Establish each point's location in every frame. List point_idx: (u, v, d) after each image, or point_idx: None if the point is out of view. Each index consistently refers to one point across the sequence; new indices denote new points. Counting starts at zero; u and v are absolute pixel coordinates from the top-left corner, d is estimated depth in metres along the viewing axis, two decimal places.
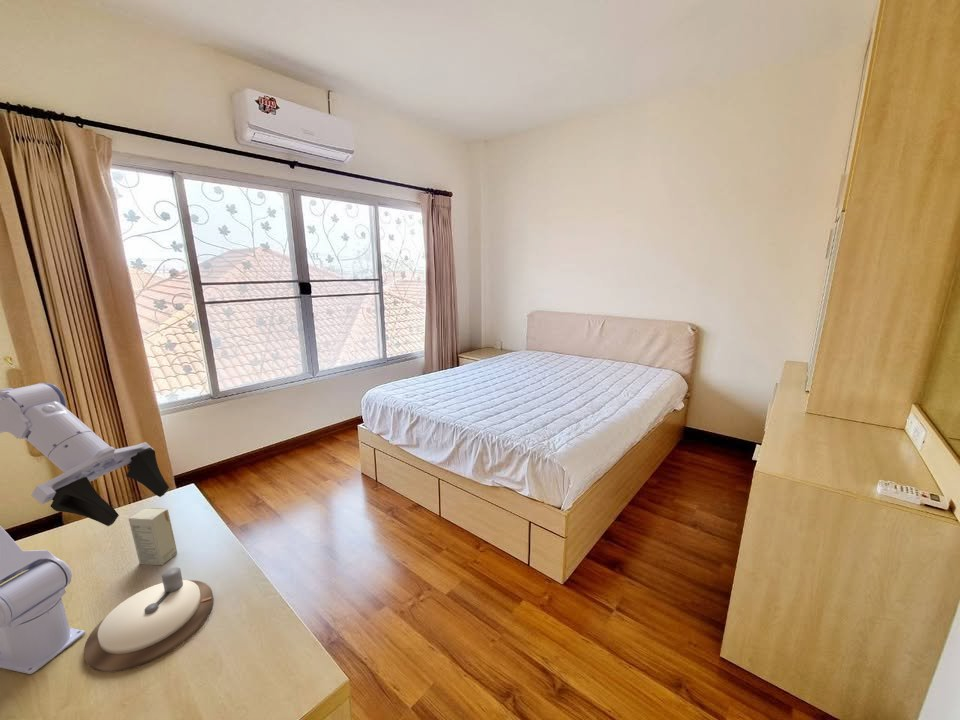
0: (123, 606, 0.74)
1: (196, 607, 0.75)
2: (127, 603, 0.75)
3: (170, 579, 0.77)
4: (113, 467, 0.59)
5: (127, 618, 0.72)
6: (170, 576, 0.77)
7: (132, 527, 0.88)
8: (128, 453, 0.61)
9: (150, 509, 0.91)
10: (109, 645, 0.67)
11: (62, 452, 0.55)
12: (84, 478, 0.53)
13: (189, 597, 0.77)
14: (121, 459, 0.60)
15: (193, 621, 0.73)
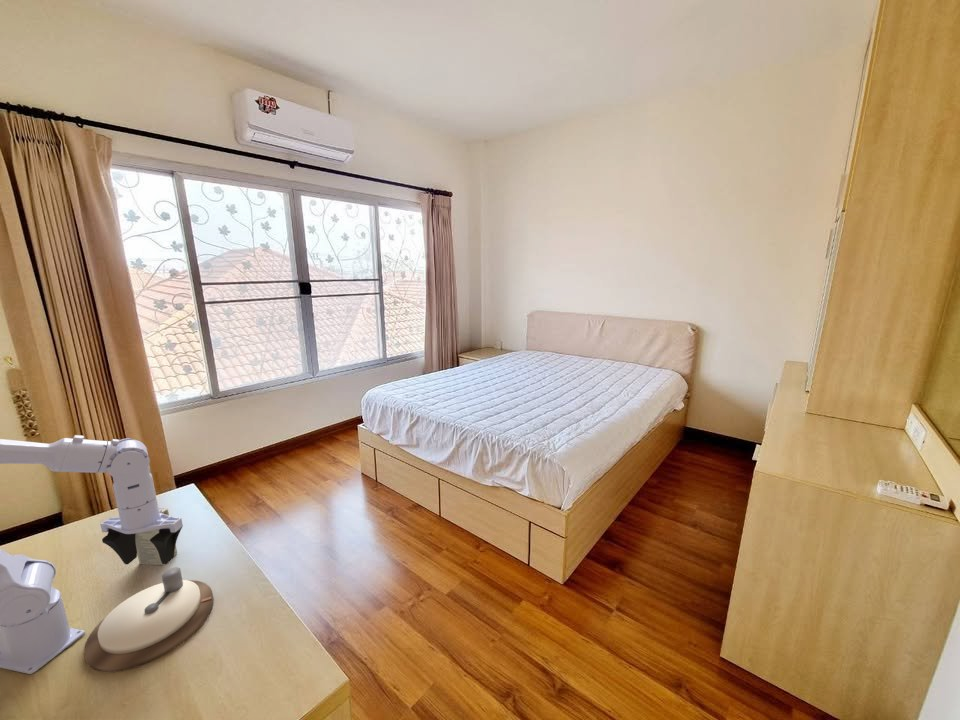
0: (123, 606, 0.74)
1: (196, 607, 0.75)
2: (127, 603, 0.75)
3: (170, 579, 0.77)
4: None
5: (127, 618, 0.72)
6: (170, 576, 0.77)
7: None
8: None
9: None
10: (109, 645, 0.67)
11: (156, 502, 0.76)
12: None
13: (189, 597, 0.77)
14: None
15: (193, 621, 0.73)
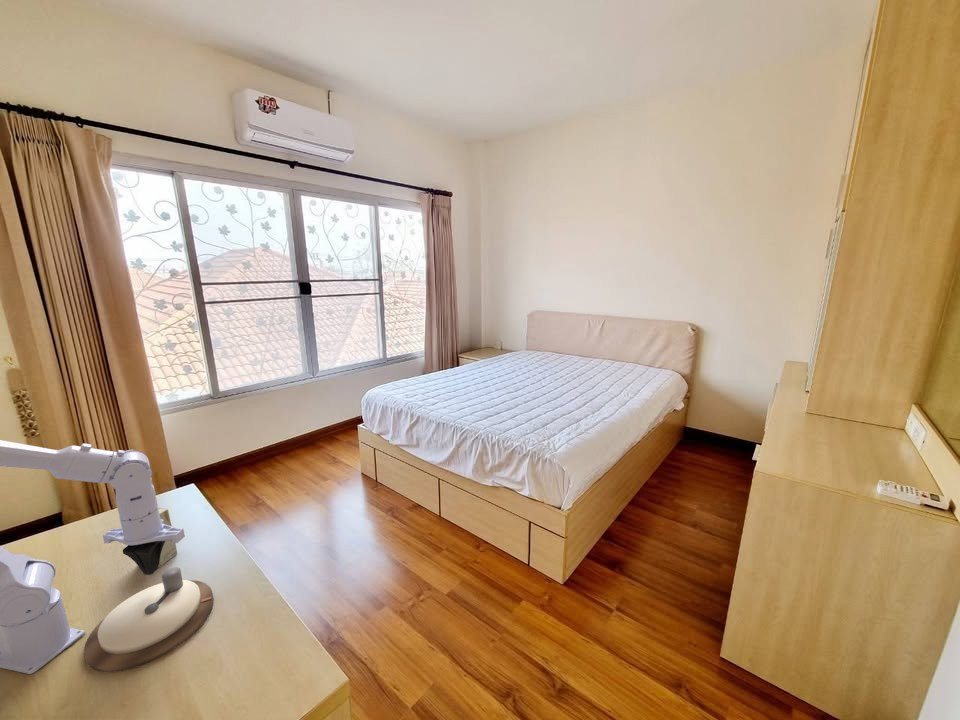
0: (123, 606, 0.74)
1: (196, 607, 0.75)
2: (127, 603, 0.75)
3: (170, 579, 0.77)
4: None
5: (127, 618, 0.72)
6: (170, 576, 0.77)
7: None
8: None
9: None
10: (109, 645, 0.67)
11: (158, 513, 0.77)
12: None
13: (189, 597, 0.77)
14: None
15: (193, 621, 0.73)
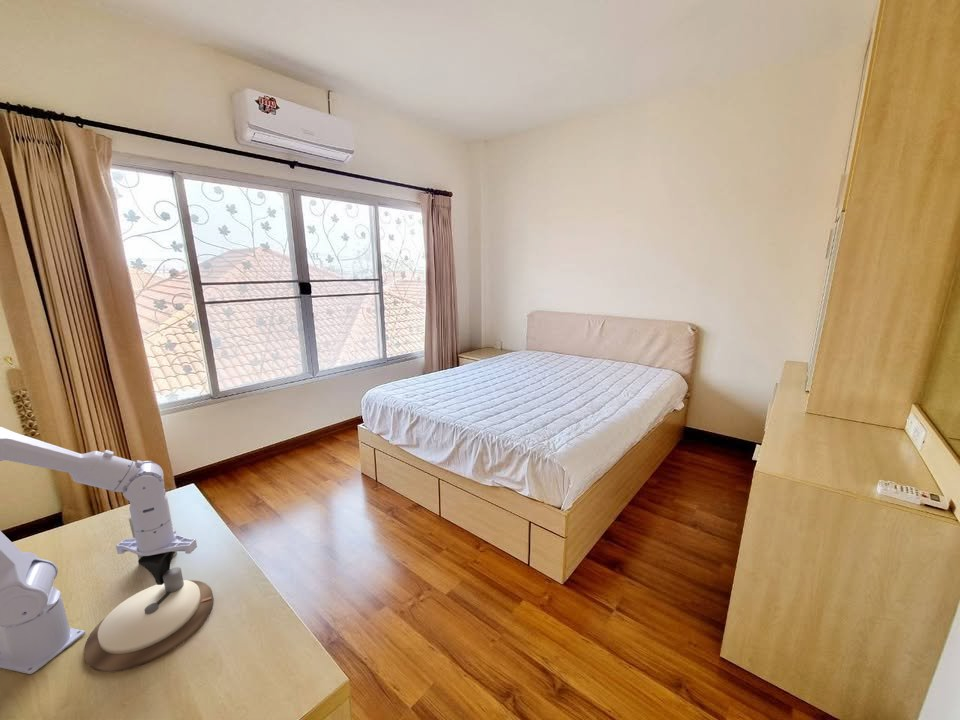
0: (124, 605, 0.75)
1: (195, 608, 0.75)
2: (128, 602, 0.75)
3: (170, 579, 0.77)
4: None
5: (127, 618, 0.72)
6: (171, 576, 0.77)
7: (132, 527, 0.88)
8: None
9: None
10: (108, 645, 0.67)
11: (171, 523, 0.78)
12: None
13: (188, 597, 0.77)
14: None
15: (193, 621, 0.73)
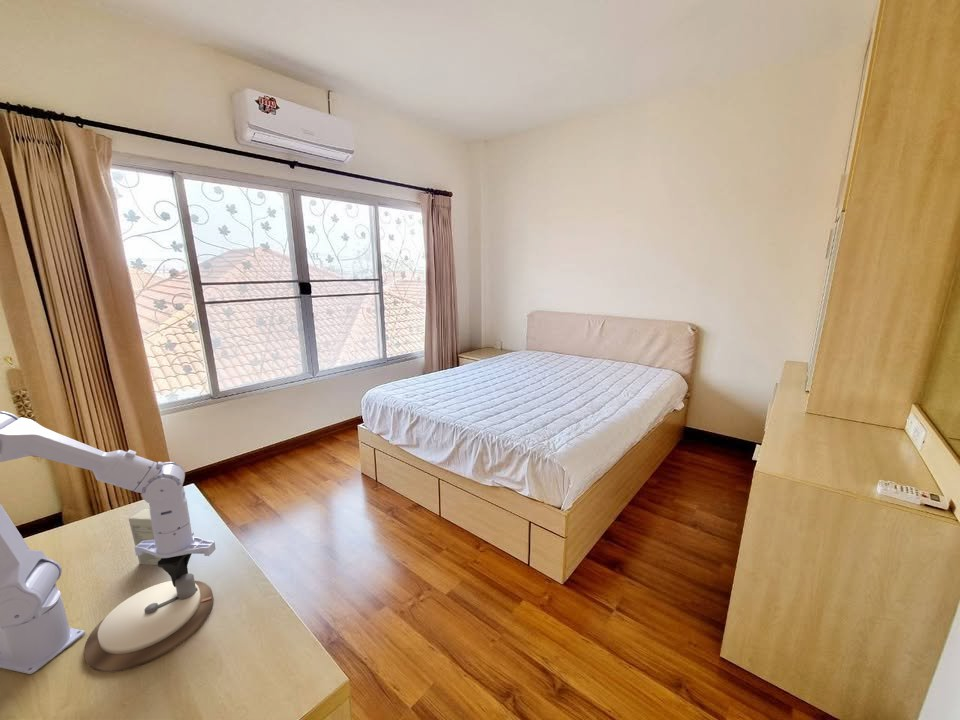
0: (154, 588, 0.79)
1: (167, 633, 0.70)
2: (158, 587, 0.79)
3: (177, 586, 0.75)
4: None
5: (137, 606, 0.74)
6: (178, 583, 0.76)
7: (132, 527, 0.88)
8: None
9: None
10: (99, 629, 0.70)
11: (190, 525, 0.77)
12: None
13: (175, 616, 0.72)
14: None
15: (193, 621, 0.73)
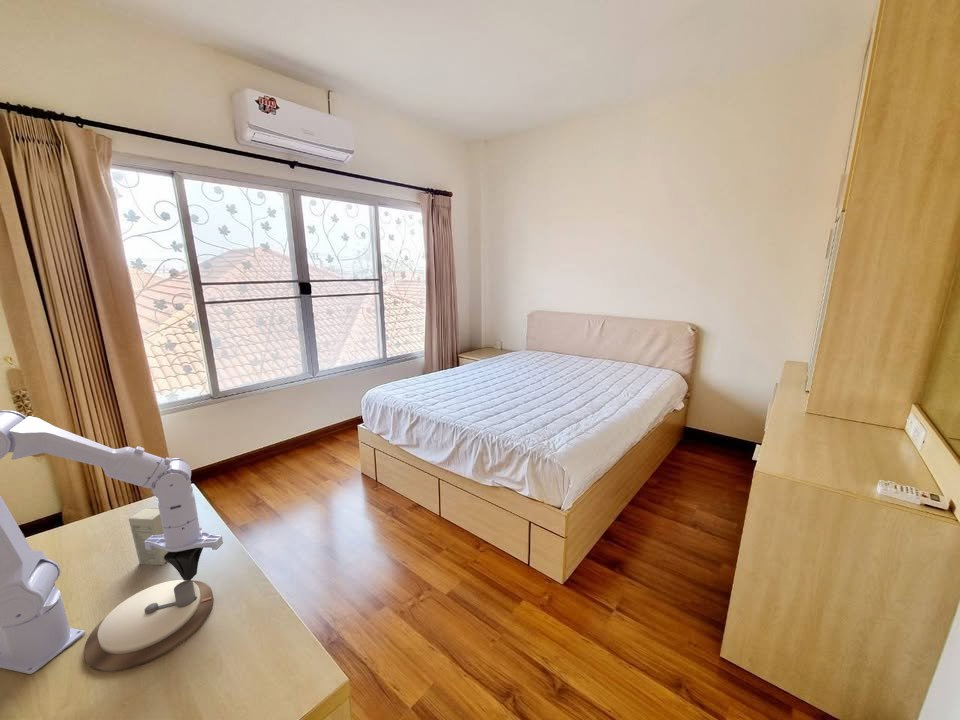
0: (169, 584, 0.80)
1: (146, 644, 0.68)
2: (172, 584, 0.80)
3: (174, 592, 0.74)
4: None
5: (146, 600, 0.76)
6: (176, 590, 0.74)
7: (132, 527, 0.88)
8: None
9: (150, 509, 0.91)
10: (107, 616, 0.72)
11: None
12: None
13: (161, 625, 0.70)
14: None
15: (193, 621, 0.73)
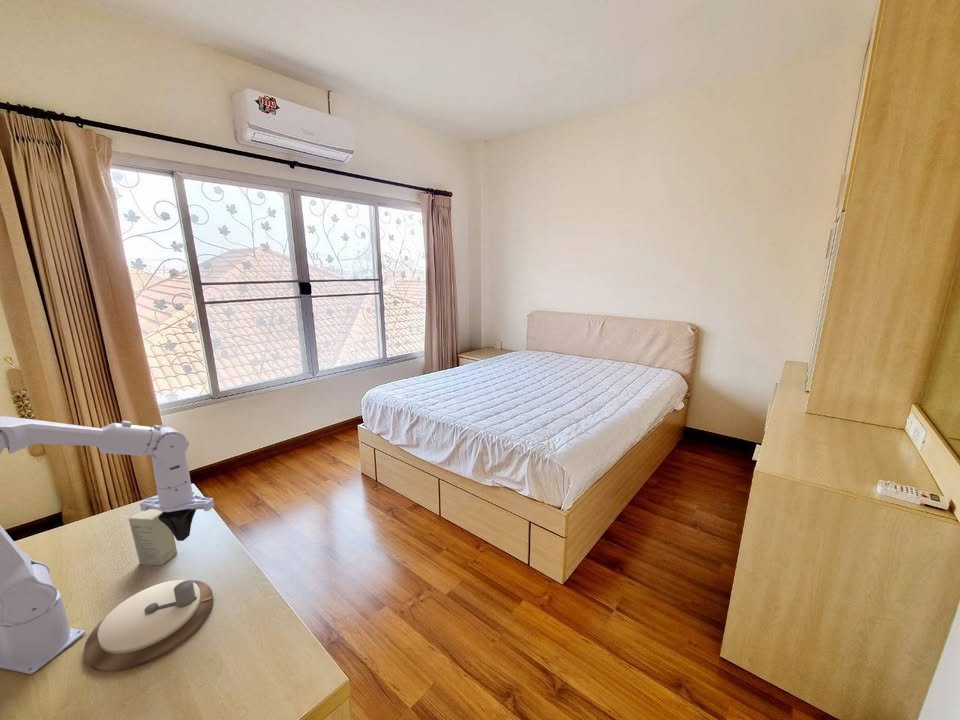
0: (169, 584, 0.80)
1: (146, 644, 0.68)
2: (172, 584, 0.80)
3: (174, 592, 0.74)
4: None
5: (146, 600, 0.76)
6: (176, 590, 0.74)
7: (132, 527, 0.88)
8: None
9: (150, 509, 0.91)
10: (107, 616, 0.72)
11: (190, 483, 0.83)
12: None
13: (161, 625, 0.70)
14: None
15: (193, 621, 0.73)
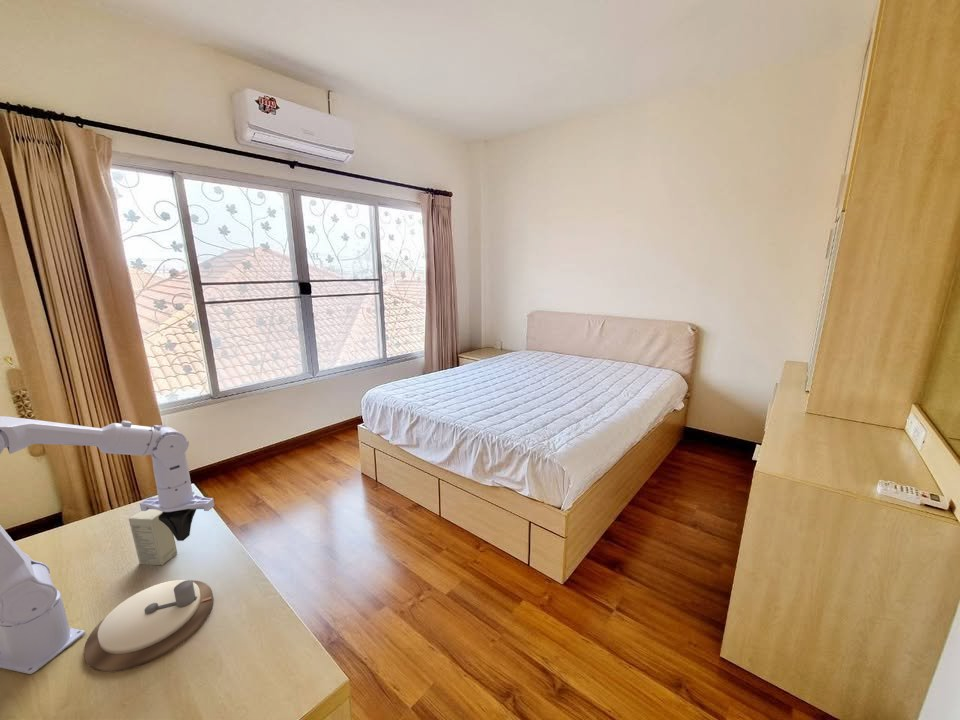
0: (169, 584, 0.80)
1: (146, 644, 0.68)
2: (172, 584, 0.80)
3: (174, 592, 0.74)
4: None
5: (146, 600, 0.76)
6: (176, 590, 0.74)
7: (132, 527, 0.88)
8: None
9: (150, 509, 0.91)
10: (107, 616, 0.72)
11: (190, 483, 0.83)
12: None
13: (161, 625, 0.70)
14: None
15: (193, 621, 0.73)
